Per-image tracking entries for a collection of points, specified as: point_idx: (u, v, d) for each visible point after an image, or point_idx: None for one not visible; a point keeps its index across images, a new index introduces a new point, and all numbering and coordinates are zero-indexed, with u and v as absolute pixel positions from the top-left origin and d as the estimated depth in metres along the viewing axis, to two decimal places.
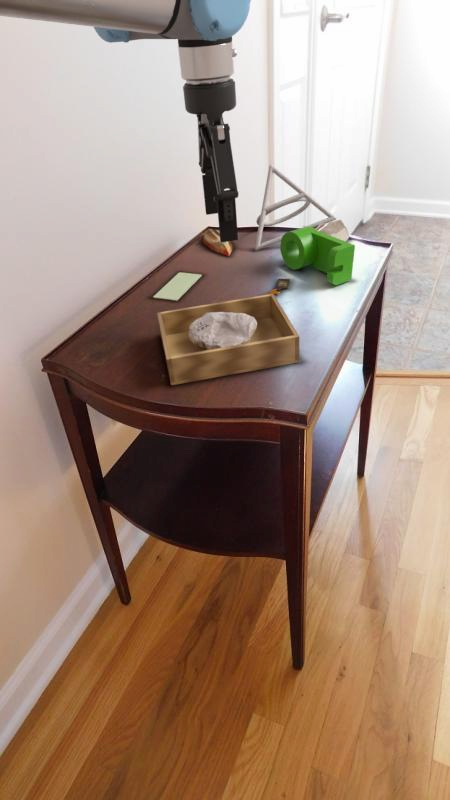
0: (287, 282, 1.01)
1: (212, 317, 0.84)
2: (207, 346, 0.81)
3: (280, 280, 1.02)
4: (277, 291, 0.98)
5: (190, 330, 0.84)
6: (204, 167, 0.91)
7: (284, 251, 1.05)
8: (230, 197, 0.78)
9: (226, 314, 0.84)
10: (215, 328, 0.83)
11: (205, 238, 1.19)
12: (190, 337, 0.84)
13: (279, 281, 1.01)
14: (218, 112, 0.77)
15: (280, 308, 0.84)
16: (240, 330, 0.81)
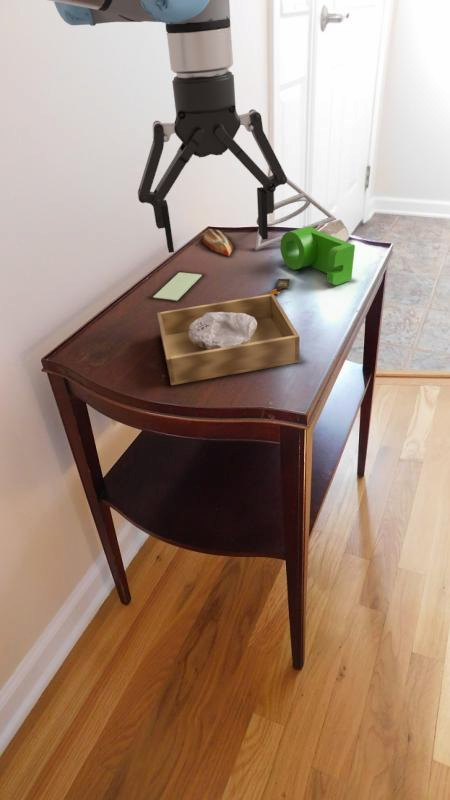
0: (287, 282, 1.01)
1: (212, 317, 0.84)
2: (207, 346, 0.81)
3: (280, 280, 1.02)
4: (277, 291, 0.98)
5: (190, 330, 0.84)
6: (166, 194, 0.72)
7: (284, 251, 1.05)
8: None
9: (226, 314, 0.84)
10: (215, 328, 0.83)
11: (205, 238, 1.19)
12: (190, 337, 0.84)
13: (279, 281, 1.01)
14: None
15: (280, 308, 0.84)
16: (240, 330, 0.81)
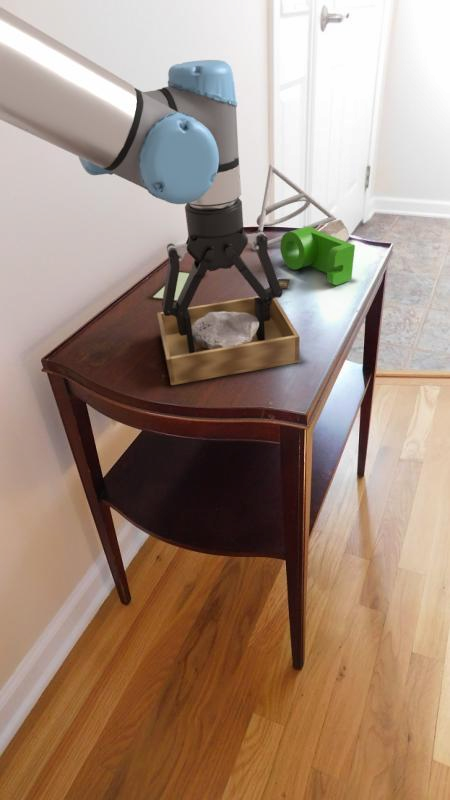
0: (287, 282, 1.01)
1: (214, 317, 0.84)
2: (209, 346, 0.81)
3: (280, 280, 1.02)
4: None
5: (192, 330, 0.84)
6: None
7: (284, 251, 1.05)
8: None
9: (228, 314, 0.84)
10: (217, 328, 0.83)
11: None
12: None
13: (279, 281, 1.01)
14: None
15: (280, 308, 0.84)
16: (241, 330, 0.81)
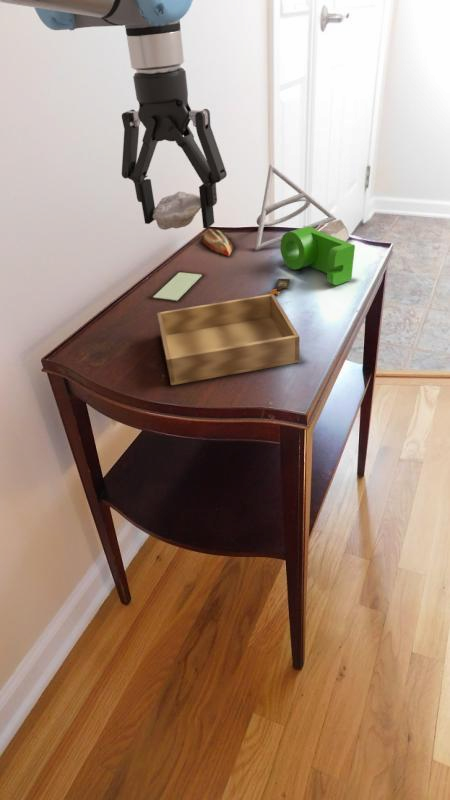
0: (287, 282, 1.01)
1: (177, 195, 0.90)
2: None
3: (280, 280, 1.02)
4: (277, 291, 0.98)
5: (159, 203, 0.92)
6: (141, 173, 0.87)
7: (284, 251, 1.05)
8: (223, 178, 0.83)
9: (189, 195, 0.89)
10: (173, 204, 0.90)
11: (205, 238, 1.19)
12: None
13: (279, 281, 1.01)
14: (186, 97, 0.78)
15: (280, 308, 0.84)
16: (182, 207, 0.86)
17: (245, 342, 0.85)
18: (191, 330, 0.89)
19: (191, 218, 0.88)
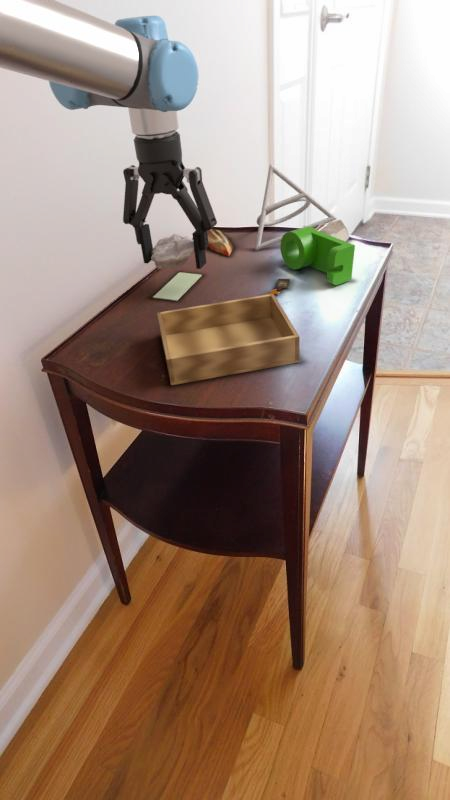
0: (287, 282, 1.01)
1: (173, 237, 1.01)
2: None
3: (280, 280, 1.02)
4: (277, 291, 0.98)
5: (156, 244, 1.03)
6: (141, 219, 0.97)
7: (284, 251, 1.05)
8: (213, 226, 0.93)
9: (183, 238, 1.00)
10: (169, 246, 1.00)
11: None
12: (153, 249, 1.02)
13: (279, 281, 1.01)
14: (181, 157, 0.89)
15: (280, 308, 0.84)
16: (177, 250, 0.97)
17: (245, 342, 0.85)
18: (191, 330, 0.89)
19: (185, 259, 0.99)
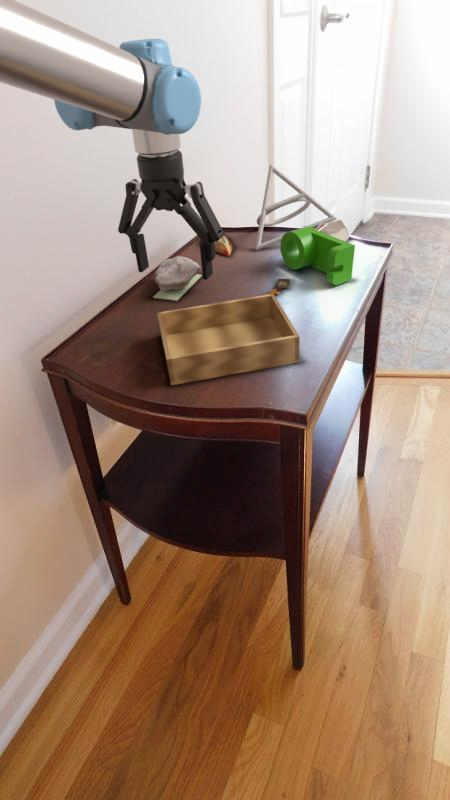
0: (287, 282, 1.01)
1: (176, 260, 1.03)
2: None
3: (280, 280, 1.02)
4: (277, 291, 0.98)
5: (160, 265, 1.05)
6: (136, 230, 0.99)
7: (284, 251, 1.05)
8: (221, 237, 0.94)
9: (186, 260, 1.03)
10: (172, 268, 1.03)
11: None
12: (156, 270, 1.05)
13: (279, 281, 1.01)
14: (182, 175, 0.90)
15: (280, 308, 0.84)
16: (181, 273, 0.99)
17: (245, 342, 0.85)
18: (191, 330, 0.89)
19: (188, 281, 1.01)
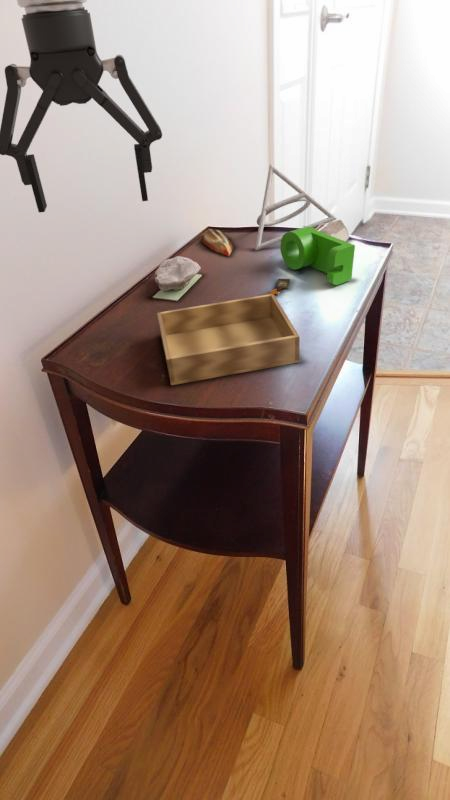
0: (287, 282, 1.01)
1: (176, 260, 1.03)
2: None
3: (280, 280, 1.02)
4: (277, 291, 0.98)
5: (160, 265, 1.05)
6: (28, 146, 0.67)
7: (284, 251, 1.05)
8: None
9: (186, 260, 1.03)
10: (172, 268, 1.03)
11: (205, 238, 1.19)
12: (156, 270, 1.05)
13: (279, 281, 1.01)
14: None
15: (280, 308, 0.84)
16: (181, 273, 0.99)
17: (245, 342, 0.85)
18: (191, 330, 0.89)
19: (188, 281, 1.01)
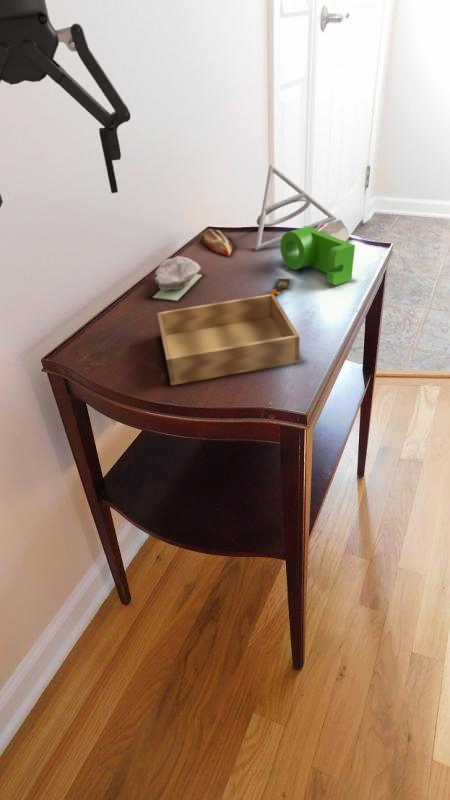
0: (287, 282, 1.01)
1: (176, 260, 1.03)
2: None
3: (280, 280, 1.02)
4: (277, 291, 0.98)
5: (160, 265, 1.05)
6: None
7: (284, 251, 1.05)
8: None
9: (186, 260, 1.03)
10: (172, 268, 1.03)
11: (205, 238, 1.19)
12: (156, 270, 1.05)
13: (279, 281, 1.01)
14: (47, 12, 0.54)
15: (280, 308, 0.84)
16: (181, 273, 0.99)
17: (245, 342, 0.85)
18: (191, 330, 0.89)
19: (188, 281, 1.01)
